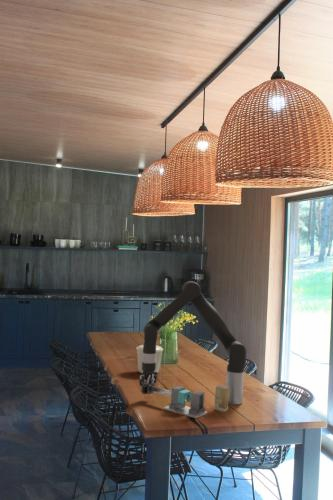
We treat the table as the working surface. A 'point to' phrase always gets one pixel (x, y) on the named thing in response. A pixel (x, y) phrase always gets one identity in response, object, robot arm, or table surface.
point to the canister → (158, 357)
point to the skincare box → (221, 398)
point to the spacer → (182, 396)
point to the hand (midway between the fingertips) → (147, 392)
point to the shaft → (158, 390)
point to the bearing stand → (192, 411)
